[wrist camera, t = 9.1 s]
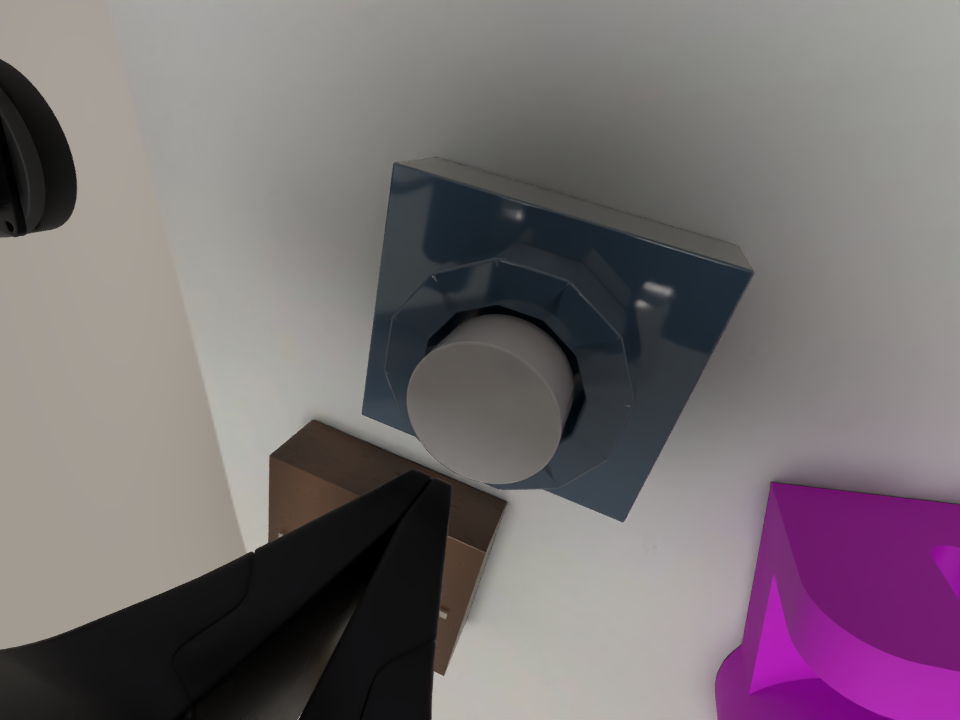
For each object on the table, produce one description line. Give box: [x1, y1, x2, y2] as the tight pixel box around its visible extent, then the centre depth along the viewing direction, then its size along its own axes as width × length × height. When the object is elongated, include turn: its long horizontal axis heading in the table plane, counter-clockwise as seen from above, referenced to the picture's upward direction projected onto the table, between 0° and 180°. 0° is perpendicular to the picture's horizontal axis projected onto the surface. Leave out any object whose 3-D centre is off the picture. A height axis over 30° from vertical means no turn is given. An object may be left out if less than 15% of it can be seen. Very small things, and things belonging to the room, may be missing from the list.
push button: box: [407, 314, 575, 484], centre depth 13 cm, size 4×4×2 cm
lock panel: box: [268, 420, 507, 676], centre depth 23 cm, size 10×9×3 cm
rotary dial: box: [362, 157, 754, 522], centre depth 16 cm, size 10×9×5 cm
